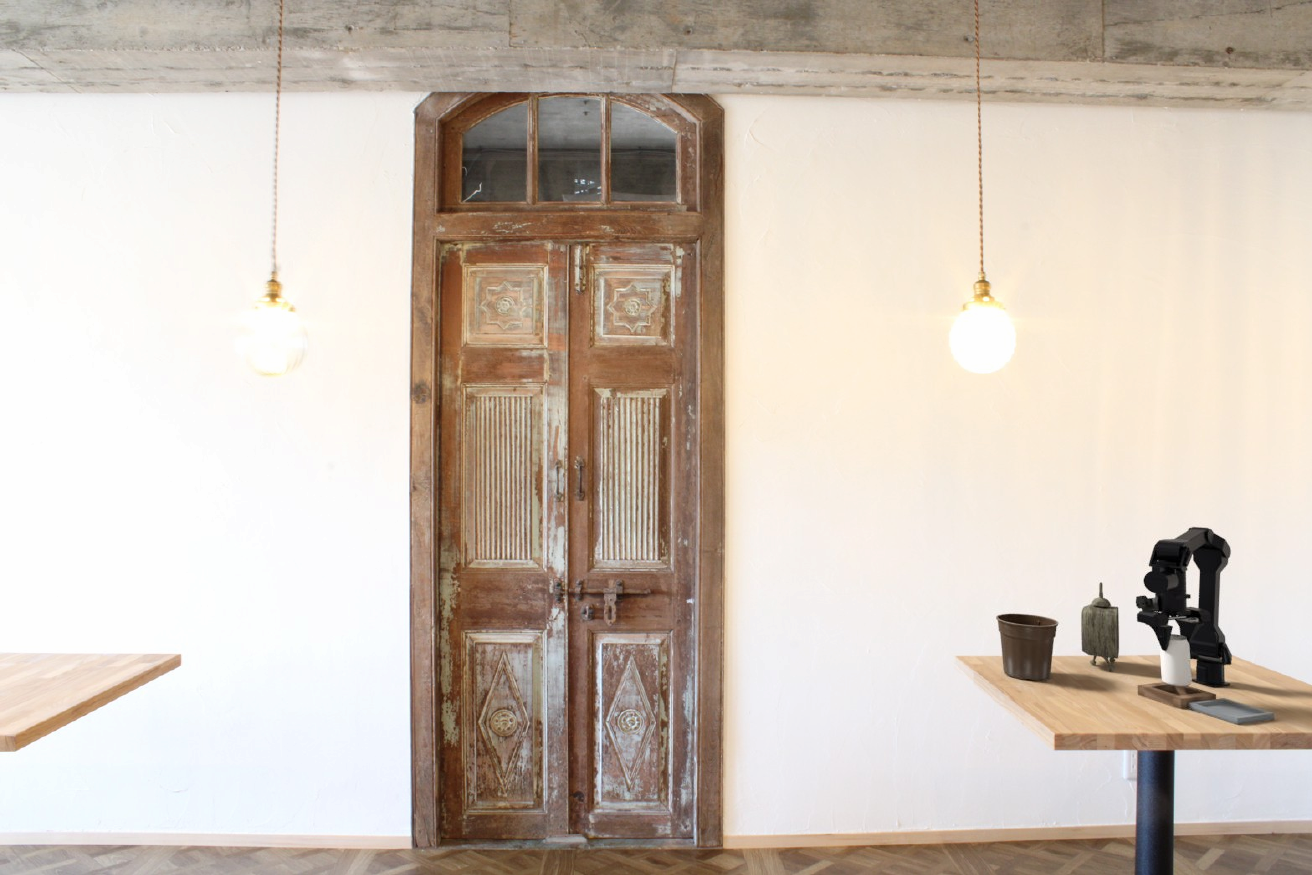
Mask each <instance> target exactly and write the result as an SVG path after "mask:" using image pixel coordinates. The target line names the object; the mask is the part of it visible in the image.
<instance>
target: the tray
mask: <svg viewBox="0 0 1312 875" xmlns="http://www.w3.org/2000/svg"><path fill="white" fill-rule="evenodd" d="M1188 710H1191V711H1193V712H1197V713H1201V714H1203V715H1206V716H1209V717H1213V718H1215V719H1219V720H1222V721H1224V722H1228V723H1231V724H1233V723H1234V724H1233V725H1236V726H1237V725H1245V723H1246V724H1252V723H1259V722H1265V721H1266V722H1267V721H1272V719H1274V720H1275V713H1274V712H1271V711H1269V710H1265V709H1261V708H1258V707H1255V706H1251V705H1249V704H1248V705H1247V704H1244V703H1241V702H1238V701H1235V700H1232V699H1228V698H1226V697H1222V698H1221V697H1220V698H1216V699H1213V700H1206V701H1198V702H1190V703H1189V708H1188Z"/></svg>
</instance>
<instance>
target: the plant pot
mask: <svg viewBox="0 0 1312 875" xmlns="http://www.w3.org/2000/svg"><path fill="white" fill-rule="evenodd" d="M995 619H996V620H997V625H998V631H999V634H1000V645H1001V655H1002V665H1003V666H1002V667H1003V672H1004V675H1007V676H1008V677H1011V678H1014V679H1018V680H1023V681H1025V680H1028V679H1029V680H1031V681H1035V682H1037V681H1038V682H1039V681H1042V682H1043V681H1047V680H1049V679H1051V672H1052V664H1053V663H1052V661H1053V652H1054V643H1055V642H1054V641H1055V638H1056V633H1057V627H1058V625H1059V621H1057V620H1056V619H1054V618H1050V617H1046V616H1041V615H1036V614H1027V613H1026V614H1025V613H1002V614H997V615H996V616H995Z"/></svg>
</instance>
